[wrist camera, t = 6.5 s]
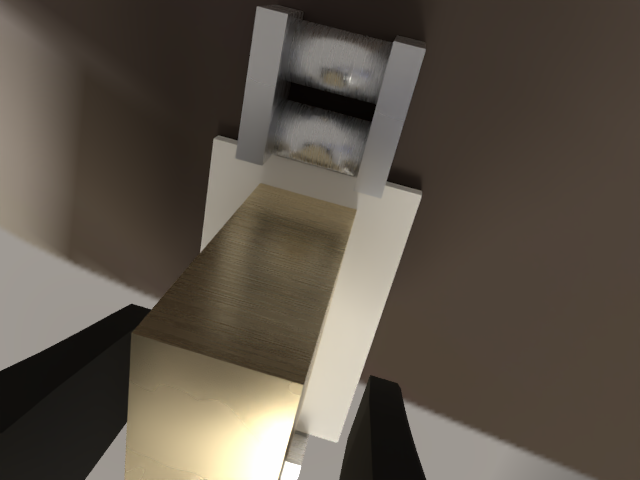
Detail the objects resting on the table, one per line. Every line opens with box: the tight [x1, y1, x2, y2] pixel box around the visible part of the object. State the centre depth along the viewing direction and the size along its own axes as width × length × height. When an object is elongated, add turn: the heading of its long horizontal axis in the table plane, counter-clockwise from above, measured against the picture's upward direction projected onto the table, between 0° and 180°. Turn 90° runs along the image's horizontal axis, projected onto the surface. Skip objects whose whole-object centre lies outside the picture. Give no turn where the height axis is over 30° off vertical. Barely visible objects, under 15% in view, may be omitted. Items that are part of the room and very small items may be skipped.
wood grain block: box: [125, 183, 357, 480], centre depth 11 cm, size 2×7×6 cm, turn 167°
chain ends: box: [235, 5, 426, 480], centre depth 13 cm, size 3×15×1 cm, turn 168°
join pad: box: [200, 135, 422, 443], centre depth 14 cm, size 5×8×1 cm, turn 167°
